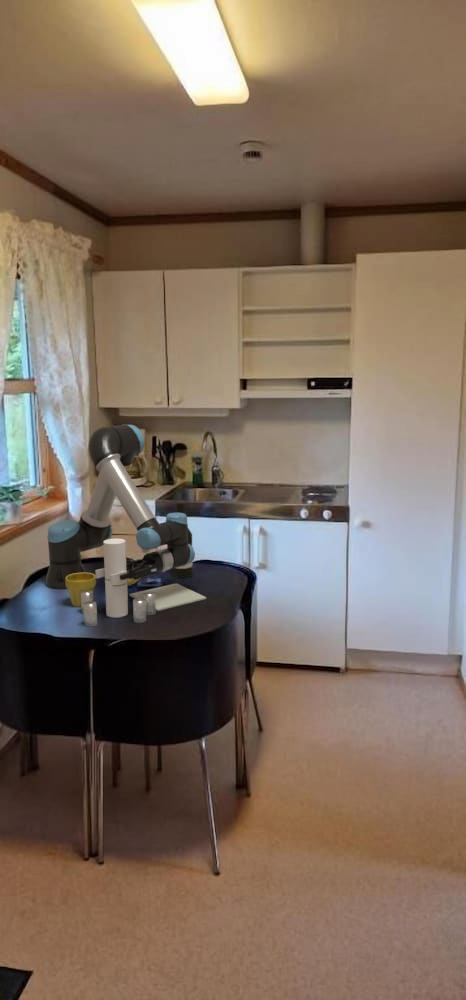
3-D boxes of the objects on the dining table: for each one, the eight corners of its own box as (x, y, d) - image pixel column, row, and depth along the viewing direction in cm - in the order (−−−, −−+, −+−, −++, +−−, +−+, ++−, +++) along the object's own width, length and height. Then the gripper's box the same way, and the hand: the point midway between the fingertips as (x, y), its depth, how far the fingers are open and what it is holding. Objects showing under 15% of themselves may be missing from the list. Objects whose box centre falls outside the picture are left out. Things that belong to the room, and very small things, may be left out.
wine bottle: (178, 571, 272) (177, 498, 266) (196, 574, 268) (195, 500, 262) (168, 577, 264) (166, 502, 259) (186, 580, 261) (185, 504, 255)
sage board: (129, 595, 244) (129, 594, 243) (176, 584, 255) (176, 583, 255) (157, 611, 228) (157, 609, 228) (206, 598, 240) (206, 597, 239)
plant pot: (102, 603, 236) (101, 576, 234) (76, 610, 229) (75, 583, 227) (87, 596, 243) (85, 570, 241) (61, 603, 236) (59, 576, 234)
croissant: (136, 596, 253) (146, 577, 253) (112, 586, 251) (121, 567, 250) (133, 578, 274) (142, 561, 273) (110, 568, 271) (119, 551, 270)
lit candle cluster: (68, 613, 226) (67, 594, 224) (132, 599, 240) (131, 580, 238) (97, 634, 208) (96, 612, 207) (164, 616, 222) (163, 596, 221)
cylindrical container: (113, 608, 230) (110, 537, 225) (131, 611, 228) (129, 539, 223) (102, 615, 223) (99, 542, 218) (121, 618, 221) (118, 544, 216)
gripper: (176, 578, 230) (122, 594, 213) (139, 566, 243) (85, 581, 227) (176, 556, 228) (122, 571, 212) (138, 546, 242) (84, 559, 225)
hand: (103, 576), depth 219 cm, fingers closed on cylindrical container, 7 cm apart
